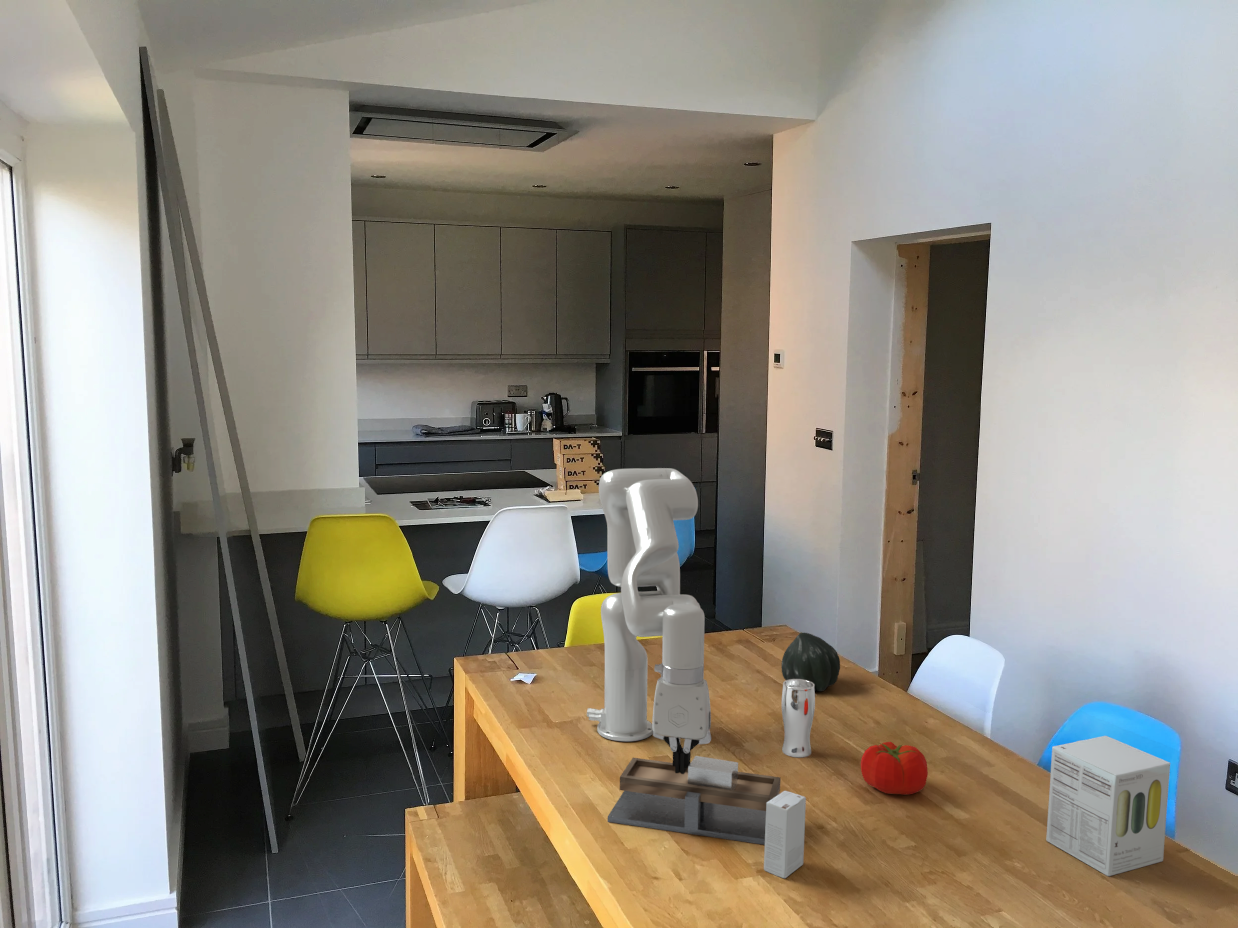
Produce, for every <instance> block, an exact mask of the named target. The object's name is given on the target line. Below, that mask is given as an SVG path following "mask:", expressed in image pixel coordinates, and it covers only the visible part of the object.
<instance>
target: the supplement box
mask: <svg viewBox="0 0 1238 928" xmlns="http://www.w3.org/2000/svg"><path fill="white" fill-rule="evenodd" d="M1050 762H1051V764H1050V777H1049V778H1050V779H1049V781H1050V782H1049V794H1048V795H1049V796H1048V797H1049V798H1048V807H1047V808H1048V810H1047V823H1046V824H1047V825H1046V838H1045V839H1046V842H1048V843H1050V844H1051V845H1053V846H1055V847H1056V848H1057V849H1059V850H1062V851H1064V853H1065V852H1066V853H1067V854H1069V855H1070V856H1072V857H1074V858H1076V859H1077V860H1079V861H1081V862H1083V863H1084V864H1087V865H1088V866H1089V867H1092V868H1093V869H1094V870H1097V871H1099V872H1100V873H1102V874H1104V876H1106V877H1111V876H1114V875H1119V874H1122V873H1125V872H1128V871H1133V870H1137V869H1140V868H1144V867H1146V866H1150V865H1153V864H1157V863H1161V862H1164V855H1165V853H1164V852H1165V840H1166V839H1165V838H1166V825H1167V814H1168V813H1167V811H1168V800H1169V799H1168V797H1169V796H1168V795H1169V786H1170V785H1169V783H1170V773H1171V772H1170V770H1171V762H1169V761H1167V760H1166V759H1165V760H1164V759H1162V758H1160V757H1157V756H1155V755H1153V754H1151V753H1148V752H1145V751H1143V750H1140V749H1139V748H1136V747H1134V746H1131V745H1129V744H1127V743H1125V742H1121V741H1120V740H1117V739H1115V738H1113V737H1109V736H1108V735H1103V736H1097V737H1093V738H1088V739H1087V738H1086V739H1083V740H1077V741H1074V742H1069V743H1065V744H1064V743H1063V744H1060V745H1053V746H1052V749H1051V761H1050Z"/></svg>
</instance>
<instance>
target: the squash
mask: <svg viewBox="0 0 1238 928" xmlns="http://www.w3.org/2000/svg"><path fill="white" fill-rule="evenodd" d="M840 670H841V660H840V657H839V654H838V652H837V650H836V649H835V648H834V646H832V645H830V643H828V642H827V641H825V640H824V639H823V638H821V637H819V636H816V635H814V634H812V633H808V632H799V634H797V635H796V637H795V639H794V640H793V641H792V642H790V644H789V645H788V646H787V648H786V649H785V651H784V653H783V656H782V659H781V673H782V677H783V679H784V681H786V680H789V679H803V680H807V681H810V682H812V683H813V684H814V690H815V691H817V692H823V691H825V690H826V689H827V688H828V687H832V686H834V685H835V683H837V681H838V679H839V675H840Z"/></svg>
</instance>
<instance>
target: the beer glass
mask: <svg viewBox="0 0 1238 928" xmlns="http://www.w3.org/2000/svg"><path fill="white" fill-rule="evenodd" d="M815 691H816V690H815V688H814V684H813V683H812V682H810V681H807V680H803V679H789V680H784V681H783V683H782V693H781V694H782V695H781V715H782V722H783V730H784V740H783V745H782V748H781V749H782V753H783V754H784V755H786V756H789V757H791V758H797V759H798V758H801V759H802V758H807V757H809V756H811V754H812V747H811V737H810V736H811V730H812V725H813V722H814V721H813V720H814V716H815V711H816V710H815V708H816V693H815Z"/></svg>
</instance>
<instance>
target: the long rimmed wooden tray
mask: <svg viewBox="0 0 1238 928" xmlns="http://www.w3.org/2000/svg"><path fill="white" fill-rule="evenodd" d="M619 791H623V792H624V791H630V792H637V793H644V794H651V795H658V796H665V797H672V798H678V799H685V796H686V794H687V792H694V793H701V802H706V803H713V804H720V805H727V806H734V807H741V808H748V809H755V810H761V811H766V803H767V802H768V801H770V800H771V799H773V798H774V797H776V796H777V795H779V794H780V793H781V777H780V776H772V775H766V774H765V775H764V774H758V773H751V772H743V771H738V783H737V785H736V787H735V789H734V790H728V789H720V788H713V787H706V786H699V785H692V784H688V768H687V770H686V772H685V773H684V774H681V773H675V766H673V762H670V761H669V762H668V761H661V760H654V759H646V758H639V757H632V758H631V760H630V761H629V763H628V764H627V765H626V767H625V769H624V770H623V771H622V773H621V775H619Z"/></svg>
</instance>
